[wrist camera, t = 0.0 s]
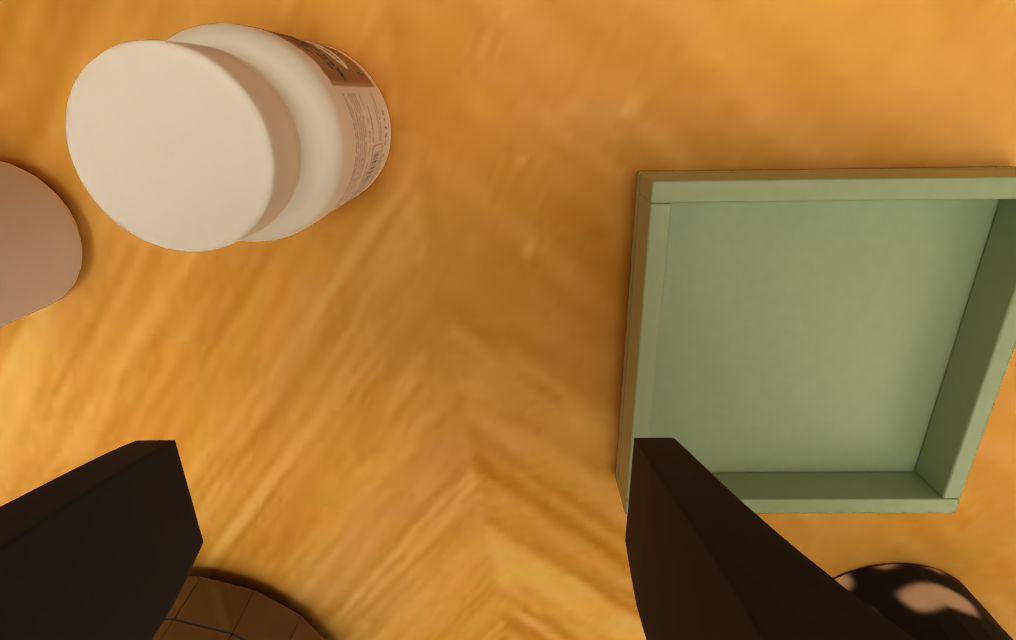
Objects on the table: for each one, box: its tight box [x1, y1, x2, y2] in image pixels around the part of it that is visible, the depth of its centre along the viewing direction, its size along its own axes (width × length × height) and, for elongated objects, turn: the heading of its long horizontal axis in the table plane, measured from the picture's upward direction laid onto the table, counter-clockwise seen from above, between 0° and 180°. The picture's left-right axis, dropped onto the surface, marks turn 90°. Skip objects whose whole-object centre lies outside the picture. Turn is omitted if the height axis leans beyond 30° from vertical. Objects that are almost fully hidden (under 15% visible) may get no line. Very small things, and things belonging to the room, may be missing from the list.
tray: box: [616, 167, 1016, 514], centre depth 18 cm, size 11×11×2 cm
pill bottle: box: [66, 23, 391, 252], centre depth 13 cm, size 4×4×8 cm
